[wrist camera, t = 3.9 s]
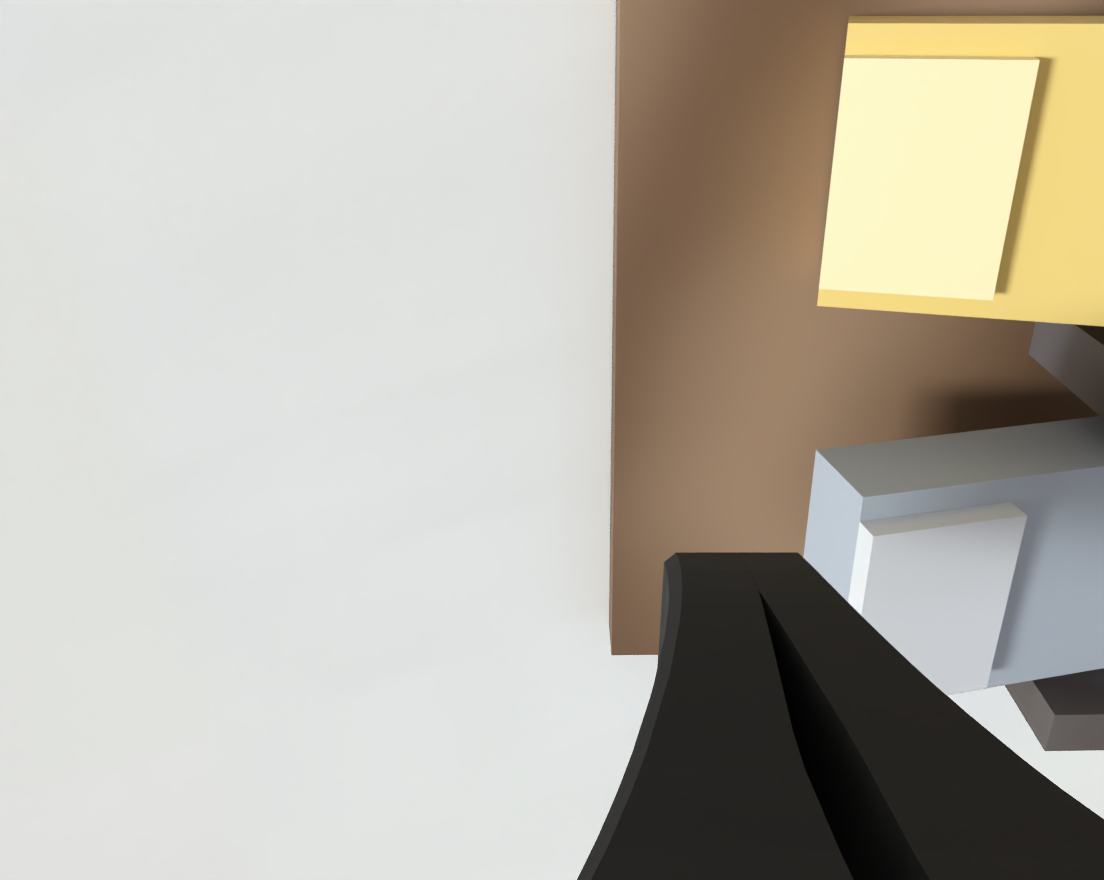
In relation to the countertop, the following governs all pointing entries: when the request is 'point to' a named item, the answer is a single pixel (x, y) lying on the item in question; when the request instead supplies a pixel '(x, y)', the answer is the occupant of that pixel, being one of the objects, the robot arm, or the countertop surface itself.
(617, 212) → the walnut board
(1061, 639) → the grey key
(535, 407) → the countertop surface
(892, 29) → the yellow rectangular block
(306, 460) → the countertop surface
